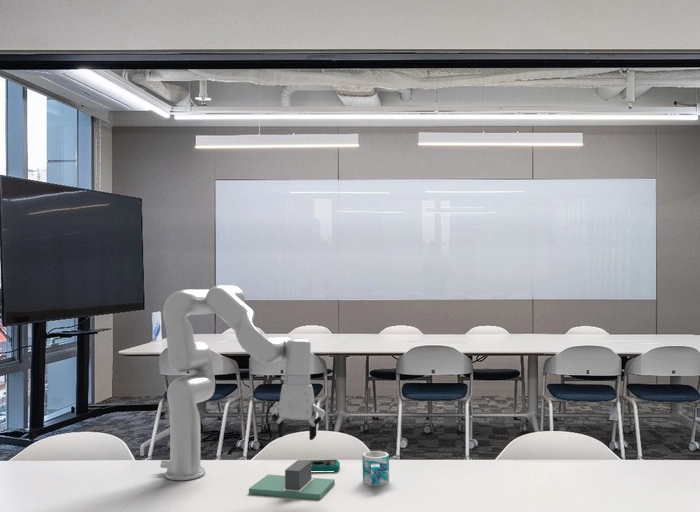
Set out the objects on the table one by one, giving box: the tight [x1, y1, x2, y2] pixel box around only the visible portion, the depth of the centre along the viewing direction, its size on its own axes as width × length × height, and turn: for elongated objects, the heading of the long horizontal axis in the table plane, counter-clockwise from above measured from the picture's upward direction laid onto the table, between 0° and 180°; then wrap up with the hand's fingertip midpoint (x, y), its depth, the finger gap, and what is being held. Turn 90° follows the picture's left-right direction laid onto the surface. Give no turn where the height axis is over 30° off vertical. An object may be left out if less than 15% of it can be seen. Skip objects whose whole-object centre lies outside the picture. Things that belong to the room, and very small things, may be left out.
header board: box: [248, 474, 336, 501], centre depth 185 cm, size 22×14×5 cm, turn 74°
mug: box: [361, 450, 390, 486], centre depth 189 cm, size 8×12×8 cm
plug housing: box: [284, 459, 313, 490], centre depth 186 cm, size 4×14×6 cm, turn 164°
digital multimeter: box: [303, 459, 341, 473], centre depth 204 cm, size 7×15×3 cm, turn 90°
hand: (297, 437), depth 185 cm, fingers open, 9 cm apart
